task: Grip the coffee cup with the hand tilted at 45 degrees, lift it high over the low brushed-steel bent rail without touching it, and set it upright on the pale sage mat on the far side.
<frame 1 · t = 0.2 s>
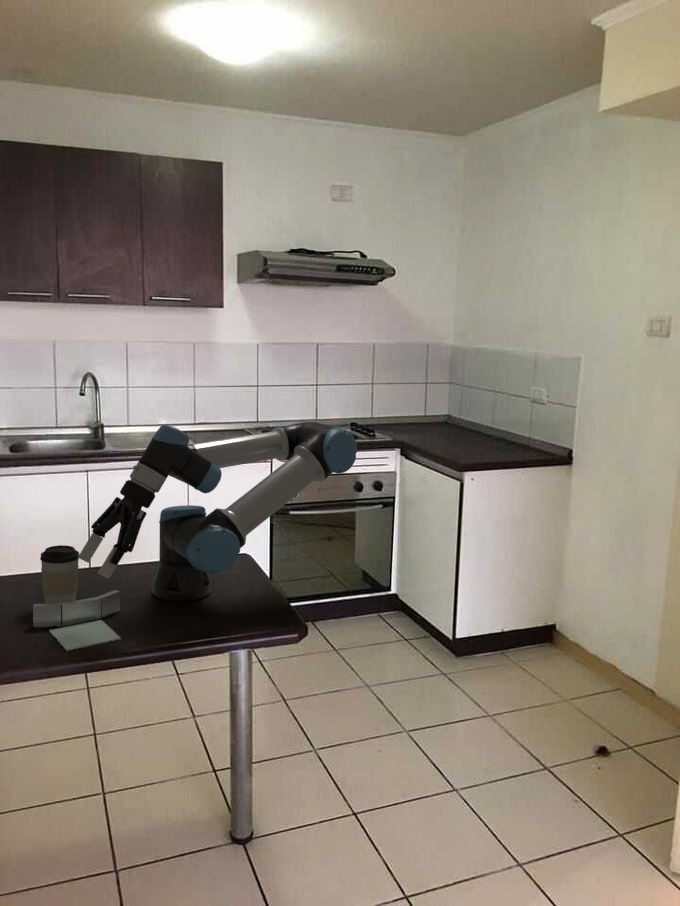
hand: (92, 568, 173), 15 cm above the table, tool tilted 35°, fingers open, 13 cm apart
coffee cup: (60, 607, 188), on the table
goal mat: (84, 635, 172), on the table
bent rail: (78, 619, 181), on the table
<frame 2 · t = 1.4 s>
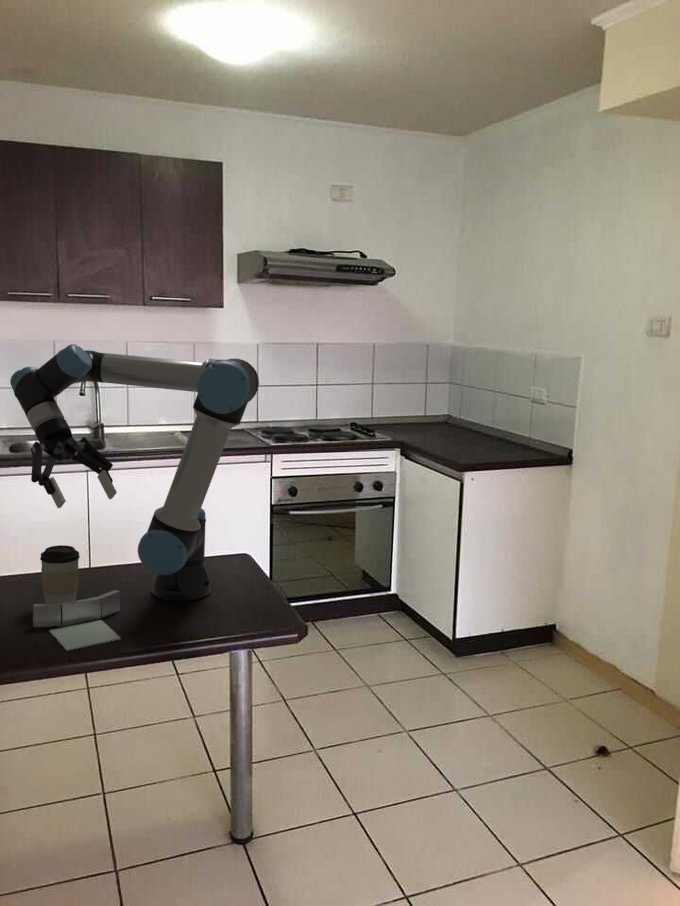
hand: (88, 500, 174), 30 cm above the table, tool tilted 45°, fingers open, 13 cm apart
nothing on the table moved.
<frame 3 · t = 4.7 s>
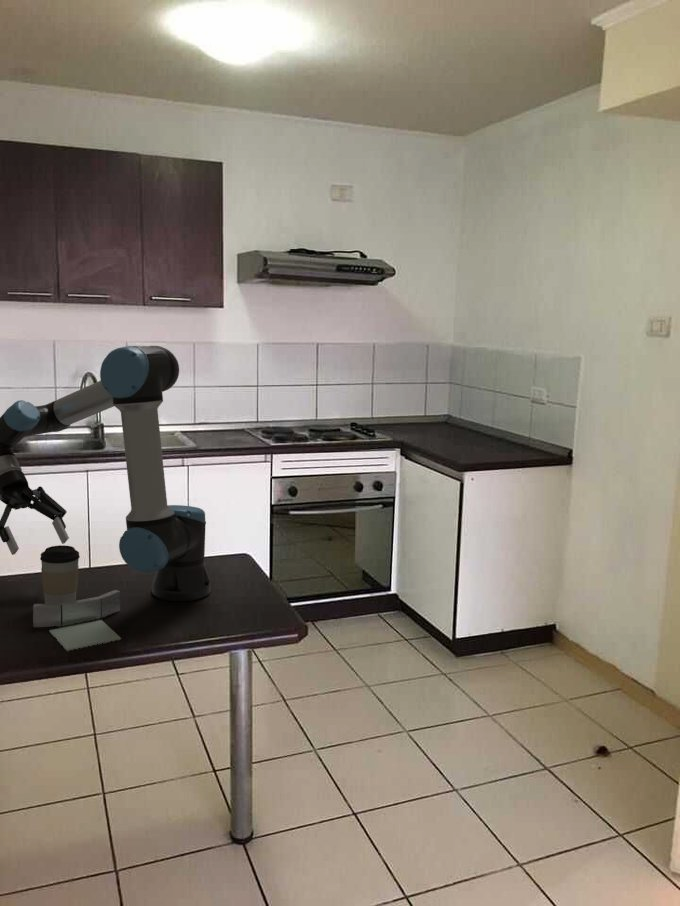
hand: (41, 546, 190), 14 cm above the table, tool tilted 45°, fingers open, 13 cm apart
nothing on the table moved.
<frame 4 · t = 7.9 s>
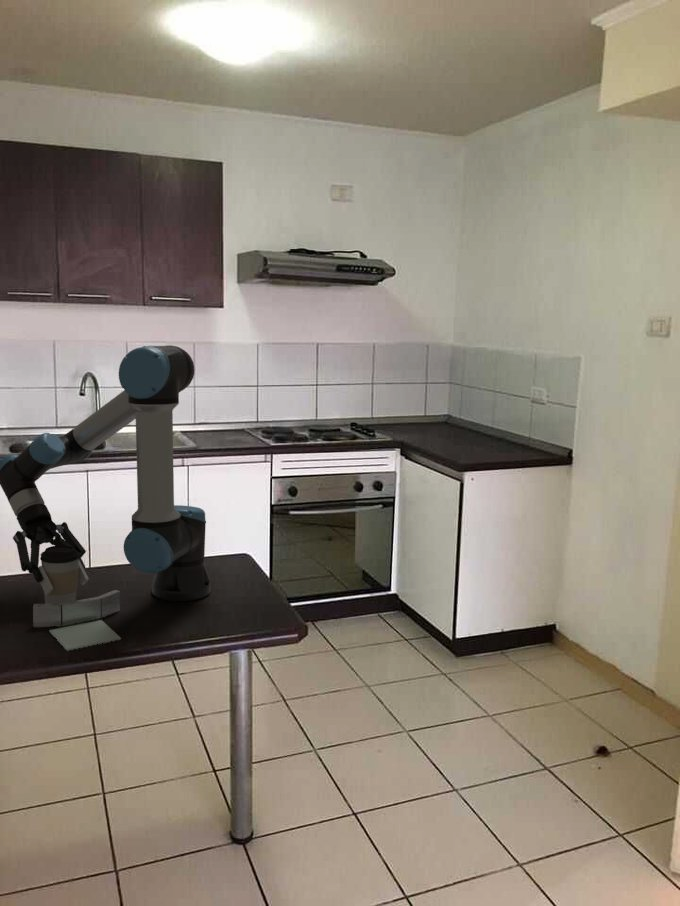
hand: (67, 586, 186), 6 cm above the table, tool tilted 45°, fingers closed on coffee cup, 9 cm apart
coffee cup: (60, 606, 188), on the table, touching gripper
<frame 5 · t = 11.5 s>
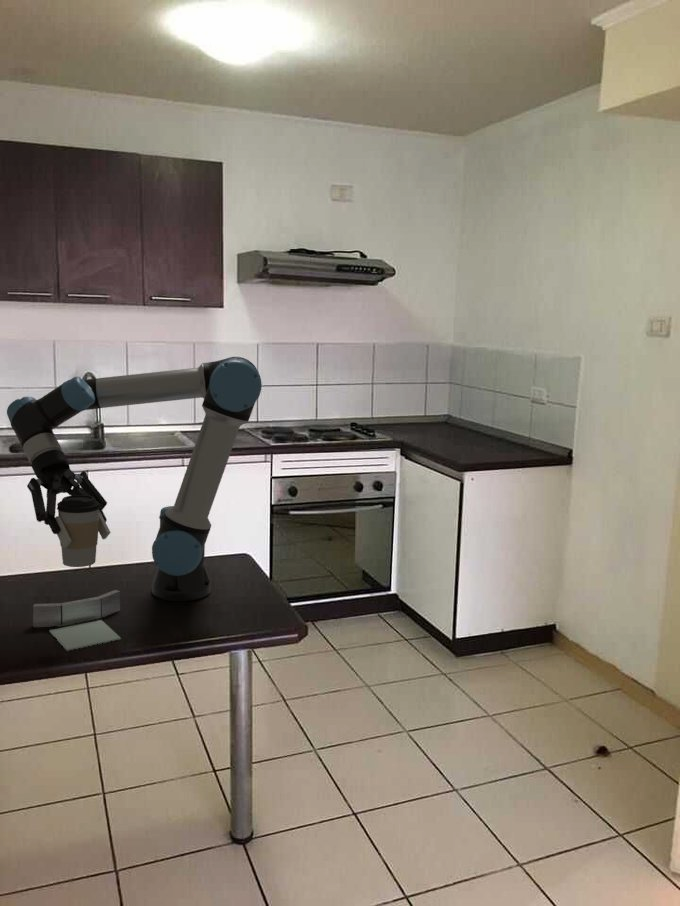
hand: (87, 540, 167), 23 cm above the table, tool tilted 45°, fingers closed on coffee cup, 9 cm apart
coffee cup: (79, 563, 171), point 17 cm above the table, touching gripper
when the fingers open (7 cm above the table, at t = 15.6 s): coffee cup stays where it is, resting on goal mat.
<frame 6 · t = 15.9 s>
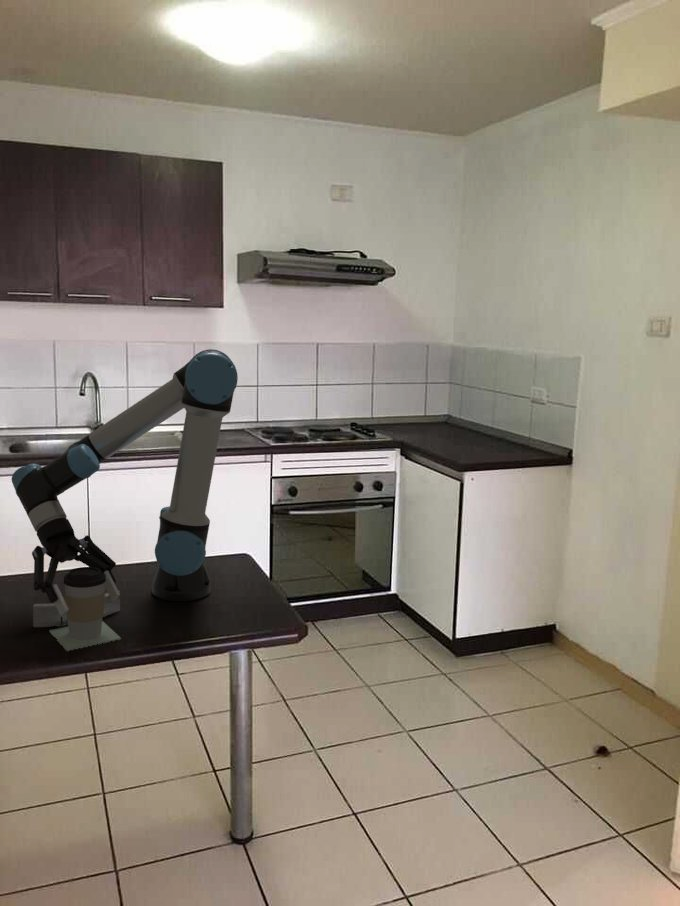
hand: (91, 605, 170), 8 cm above the table, tool tilted 45°, fingers open, 12 cm apart
coffee cup: (85, 634, 172), resting on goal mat
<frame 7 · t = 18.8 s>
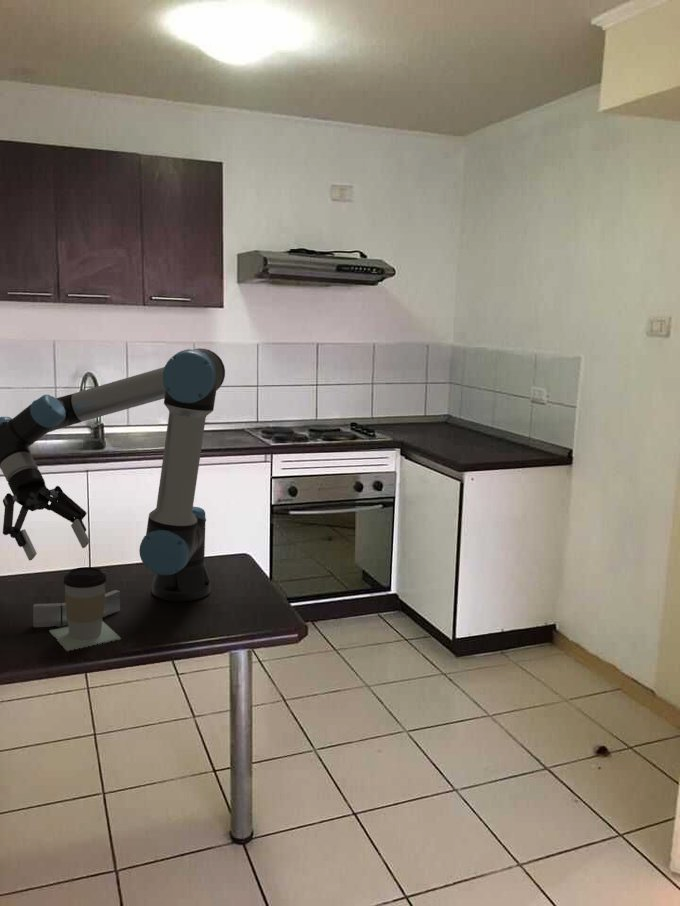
hand: (60, 551, 175), 18 cm above the table, tool tilted 45°, fingers open, 13 cm apart
nothing on the table moved.
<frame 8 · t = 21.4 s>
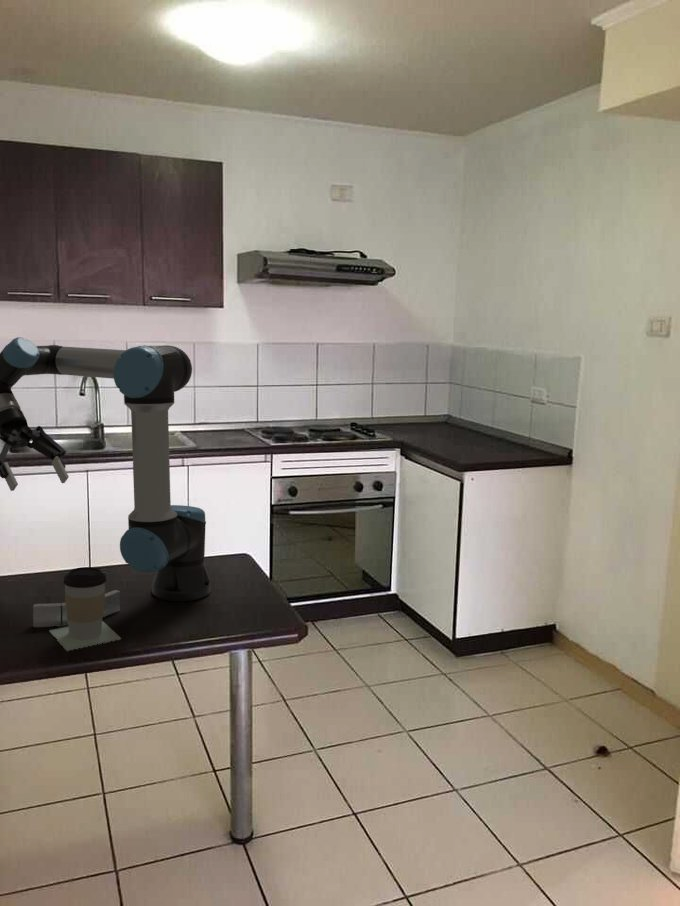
hand: (40, 483, 187), 30 cm above the table, tool tilted 45°, fingers open, 13 cm apart
nothing on the table moved.
at the end: coffee cup inside the target area on the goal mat (0.1 cm from its centre), point 0.2 cm above the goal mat's base; coffee cup tilted 0°; the gripper is holding nothing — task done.
